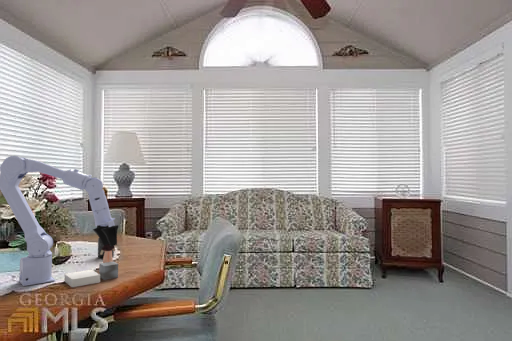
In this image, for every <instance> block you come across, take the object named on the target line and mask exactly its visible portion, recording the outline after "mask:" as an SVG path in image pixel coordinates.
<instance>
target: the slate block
mask: <svg viewBox="0 0 512 341" xmlns="http://www.w3.org/2000/svg"><path fill="white" fill-rule="evenodd" d="M98 264H99V268H98V271H99V272H98V274H100V279H101V280H104V281H107V280H110V279H111V280H113V279H118V278H119V263H118V262H115V261H113V262H106V263H103V262H100V263H98Z"/></svg>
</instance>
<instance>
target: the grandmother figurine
mask: <svg viewBox="0 0 512 341" xmlns="http://www.w3.org/2000/svg"><path fill="white" fill-rule="evenodd" d="M115 246H116V245H114V246H110V244H107V245H104V246H103V248H102V249H101V253H100V255H102V254H103V252H104V251H105V253H104V257H103V258H102V263H106V262H114V260H113V258H114V257H112V249H113V251H114V252H115V251H116V247H115Z"/></svg>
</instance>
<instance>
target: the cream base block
mask: <svg viewBox="0 0 512 341" xmlns="http://www.w3.org/2000/svg"><path fill="white" fill-rule="evenodd" d="M63 281H64V283H66V284H67V285H68V286H70V287H71V288H77V287H81V286H85V285H92V284H99V283H101V278H100V274H99V272H97V271H95V270H93V269H87V270H79V271H73V272H68V273H64V280H63Z"/></svg>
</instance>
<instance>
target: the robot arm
mask: <svg viewBox="0 0 512 341" xmlns="http://www.w3.org/2000/svg"><path fill="white" fill-rule="evenodd" d="M37 172H39V173H41V174H45V175H48V176H52V177H54V178H56V179H57V178H58V179H60V180H62V181H63V184H64V185H67V186H70V187H73V188H76V189H78V190H80V191H83V190H85V192H86V193H87V194H88V198H89V199H88V200H89V204H90V209H91V211H92V215H93V218H94V225H95V228H93V229H92V231H93V232H94V233H95V234H96V235H97V236H98V238H100V240H101V242H102V244H103V245H107V244H110V246H117V245H118V235H117V234H118V231H119V230H118V229H119V225H118V224H115V220H116V217H112V214H111V211H110V208H109V207H110V206H109V203H108V200H107V196H106V194H105V190H104V189H103V188H104V184H103V181H102V180H101V179H100V178H98V177H94V176H93V175H92V174H91V173H90V174H87V173H82V172H80V170H79V169H77V168H74V169H68V170H67V169H66V170H64V169H61V168H58V167H56V166H53V165H50V164H48V163H45V162H42V161H41V160H37V159H36V160H34V159H31V158H26V157H22V156H21V157H20V156H17V155H11V156H8V157H6V158H5V159H4V160H3V162H2V163H1V165H0V192H1V193H2V195H3V197H4V198H5V200H6V203H7V204H8V206H9V207H10V210H11V211H12V213H13V215H14V217H15V219H16V221H17V222H18V225H19V226H20V228H21V229H22V231H23V234H24V241H25V243H26V251H27V253H28V254H27V256H24V257H20V259H19V274H18V275H19V276H18V278H19V279H18V282H19V283H20V284H21V285H22V286H23V287H26V286H32V285H38V284H44V283H50V282H55V281H56V279H55V278H54V277H53V276H52V275H53V274H52V272H53V270H52V269H53V268H52V267H53V252H52V251H51V248H52V247H53V246H54V239H53V238H52V236H51V235H50V234H48V233H46V231H45V229H44V228H43V227H42V226H41V225H40V224H39V222H38V220H37V218H36V217H35V214H34V212H33V211H32V208H31V207H30V205H29V203H28V201H27V199H26V198H25V196H24V194H23V193H22V190H21V188H20V187H19V185H20V184H21V181H22V180H23V178H24V177H25V176H26V175H27V174H28V173H37ZM92 176H93V177H92Z"/></svg>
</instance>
